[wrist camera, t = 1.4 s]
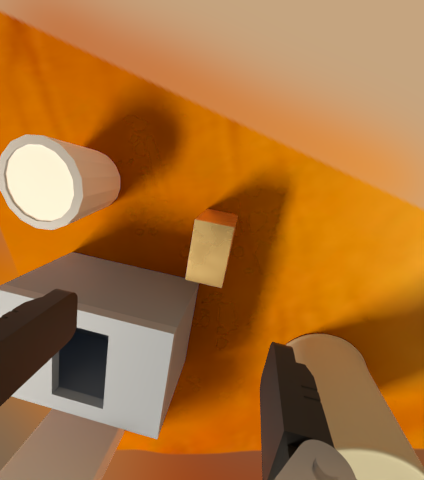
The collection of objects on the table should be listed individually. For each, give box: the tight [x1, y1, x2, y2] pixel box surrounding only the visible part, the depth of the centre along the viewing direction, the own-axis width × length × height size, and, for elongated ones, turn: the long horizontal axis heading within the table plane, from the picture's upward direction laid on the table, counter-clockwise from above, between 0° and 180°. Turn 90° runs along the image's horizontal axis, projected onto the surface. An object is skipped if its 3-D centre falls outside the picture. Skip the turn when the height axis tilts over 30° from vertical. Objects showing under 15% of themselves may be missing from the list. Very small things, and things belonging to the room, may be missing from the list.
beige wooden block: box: [185, 209, 238, 288], centre depth 23 cm, size 3×5×6 cm, turn 170°
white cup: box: [0, 135, 121, 230], centre depth 23 cm, size 7×7×7 cm
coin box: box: [0, 252, 199, 439], centre depth 25 cm, size 14×10×9 cm
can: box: [286, 334, 424, 480], centre depth 22 cm, size 9×9×12 cm
